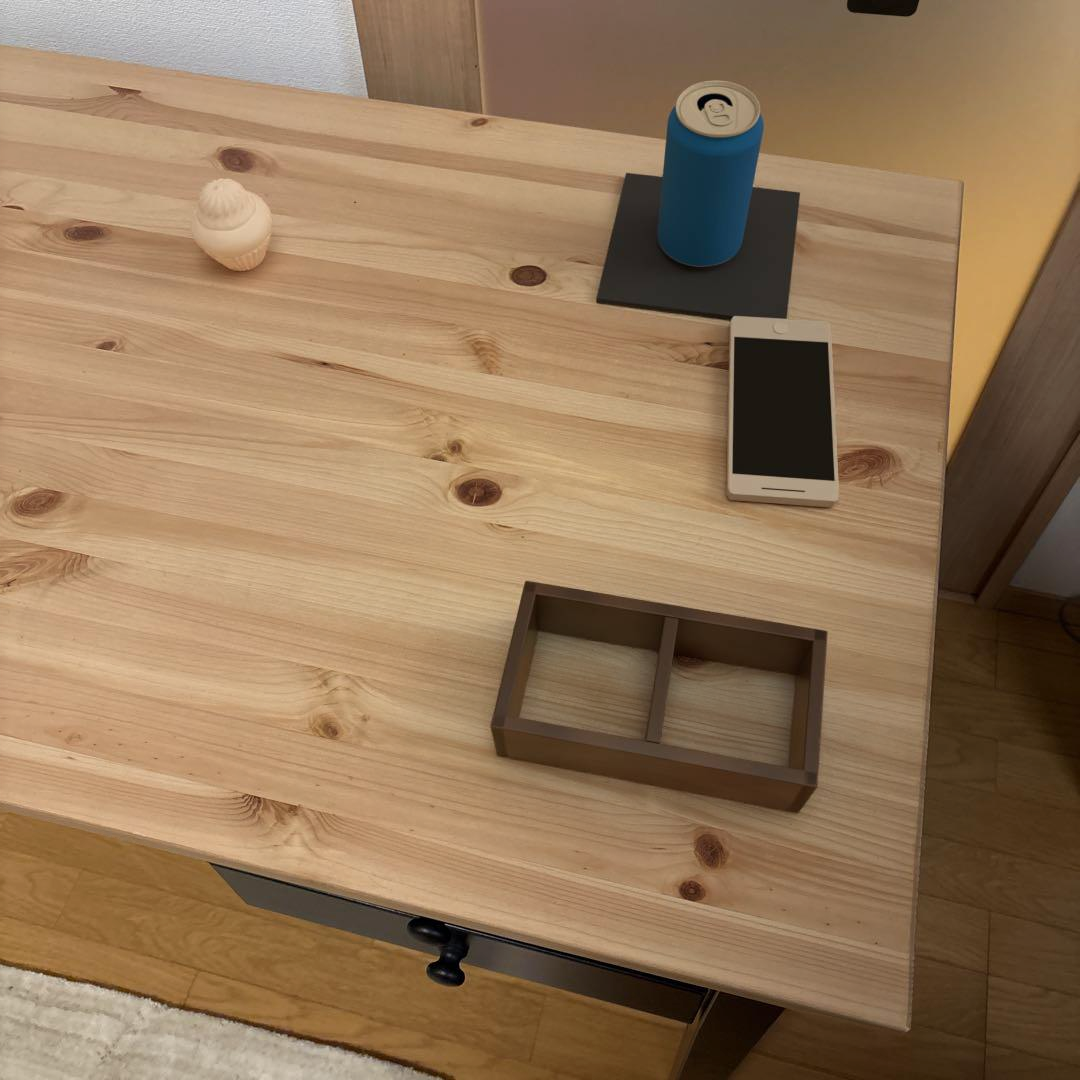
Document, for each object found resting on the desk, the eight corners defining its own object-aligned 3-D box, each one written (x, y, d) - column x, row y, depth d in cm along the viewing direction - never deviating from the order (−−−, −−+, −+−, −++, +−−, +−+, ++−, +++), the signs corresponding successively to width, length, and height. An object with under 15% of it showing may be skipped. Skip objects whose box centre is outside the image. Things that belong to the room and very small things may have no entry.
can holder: (809, 665, 60) (828, 630, 56) (798, 813, 55) (817, 787, 51) (528, 617, 62) (525, 579, 58) (496, 756, 58) (490, 726, 53)
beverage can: (728, 208, 79) (751, 70, 69) (751, 267, 76) (779, 131, 65) (648, 220, 79) (659, 83, 68) (667, 279, 75) (682, 145, 65)
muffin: (219, 226, 80) (190, 153, 74) (292, 232, 80) (269, 159, 74) (194, 282, 77) (161, 210, 71) (270, 289, 77) (244, 218, 71)
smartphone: (828, 329, 73) (831, 320, 72) (836, 508, 65) (840, 500, 64) (729, 323, 73) (730, 314, 73) (726, 500, 66) (727, 492, 65)
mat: (798, 197, 80) (800, 192, 80) (784, 327, 73) (786, 322, 73) (625, 177, 82) (626, 172, 81) (596, 303, 75) (596, 298, 75)
